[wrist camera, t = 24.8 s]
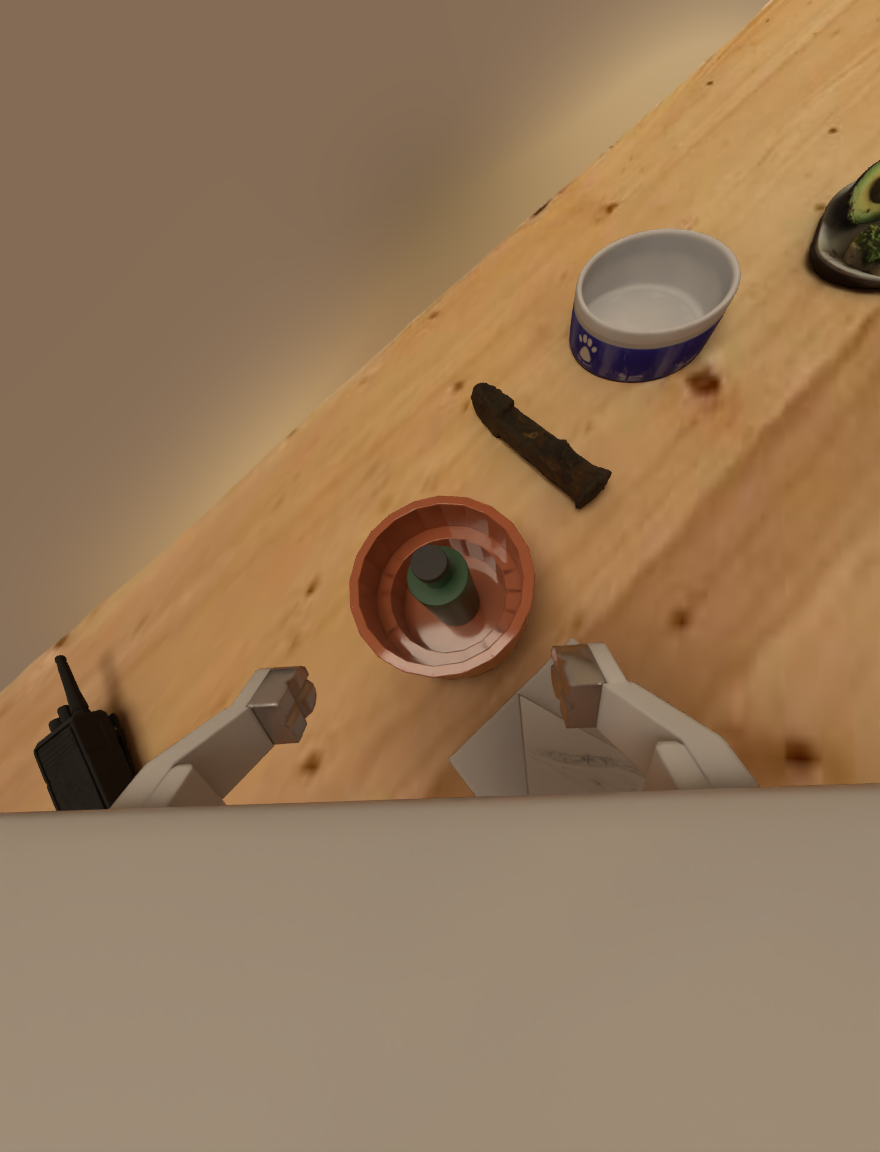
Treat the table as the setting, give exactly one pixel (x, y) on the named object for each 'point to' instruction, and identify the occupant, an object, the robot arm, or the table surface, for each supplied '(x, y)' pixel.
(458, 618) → the plant food bottle
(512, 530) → the pot
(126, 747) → the walkie-talkie
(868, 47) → the table surface
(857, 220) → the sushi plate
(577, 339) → the dog bowl
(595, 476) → the dark brown rough bar
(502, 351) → the table surface
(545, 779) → the ramp
